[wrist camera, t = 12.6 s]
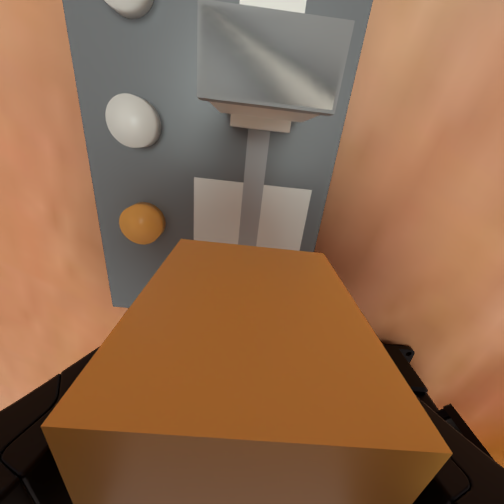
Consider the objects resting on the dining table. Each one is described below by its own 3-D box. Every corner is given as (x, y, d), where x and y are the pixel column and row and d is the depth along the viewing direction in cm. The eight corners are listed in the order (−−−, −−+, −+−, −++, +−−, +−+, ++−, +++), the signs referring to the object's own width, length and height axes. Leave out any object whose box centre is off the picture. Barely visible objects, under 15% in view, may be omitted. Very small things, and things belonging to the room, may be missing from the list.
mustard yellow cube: (323, 253, 8) (452, 453, 3) (297, 356, 11) (345, 586, 5) (181, 238, 8) (40, 426, 3) (182, 346, 10) (103, 576, 5)
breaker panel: (294, 309, 20) (299, 331, 18) (122, 294, 19) (105, 315, 17) (374, -51, 11) (405, -100, 9) (67, -99, 11) (16, -165, 8)
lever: (298, 134, 13) (331, 128, 7) (219, 124, 13) (196, 112, 7) (310, 65, 12) (359, 0, 6) (223, 53, 11) (197, -24, 6)
